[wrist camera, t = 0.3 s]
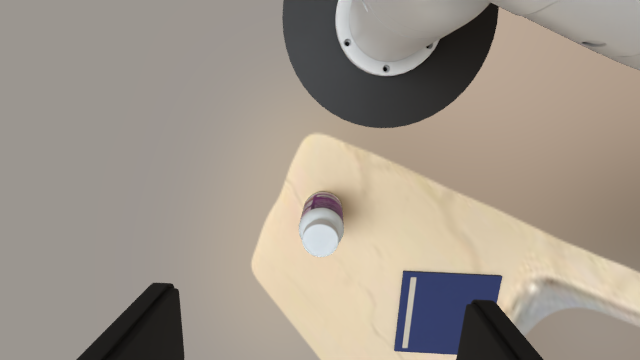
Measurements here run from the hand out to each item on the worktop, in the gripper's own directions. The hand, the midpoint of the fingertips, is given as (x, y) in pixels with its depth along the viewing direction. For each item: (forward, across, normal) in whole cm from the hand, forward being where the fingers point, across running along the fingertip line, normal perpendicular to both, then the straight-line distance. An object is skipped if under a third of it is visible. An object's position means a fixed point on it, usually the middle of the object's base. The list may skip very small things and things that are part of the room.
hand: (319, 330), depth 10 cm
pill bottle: (+32, 0, +7) cm, 33 cm away
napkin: (+32, -19, +23) cm, 43 cm away
